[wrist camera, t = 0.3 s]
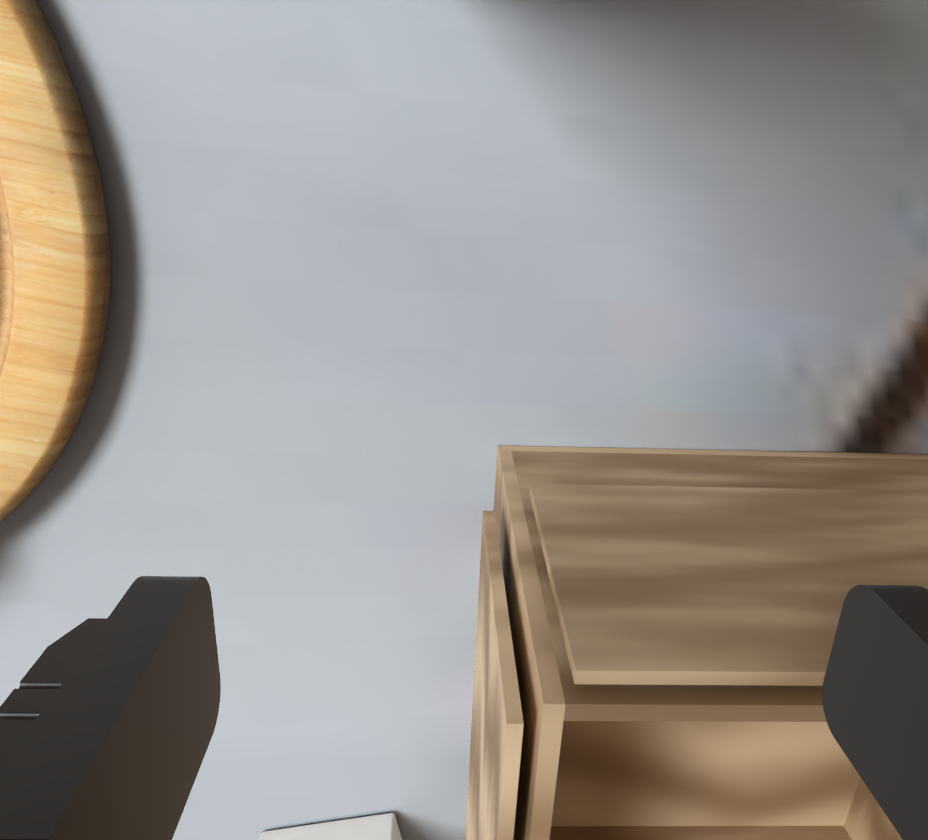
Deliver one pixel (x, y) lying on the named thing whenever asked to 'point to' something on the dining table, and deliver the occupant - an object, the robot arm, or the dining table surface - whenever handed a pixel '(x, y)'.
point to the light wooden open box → (677, 640)
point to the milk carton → (341, 830)
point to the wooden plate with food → (45, 254)
